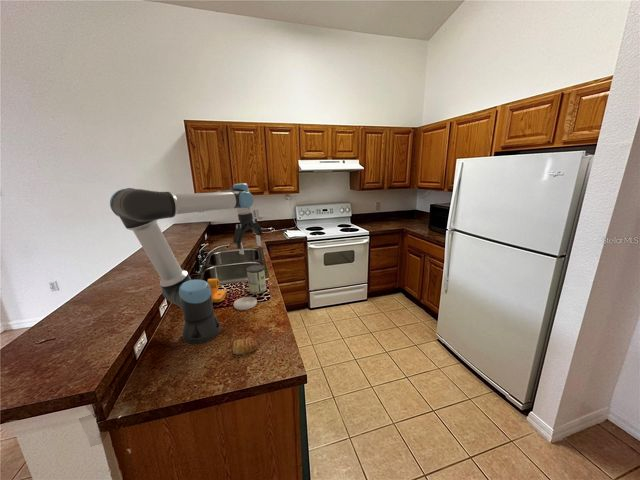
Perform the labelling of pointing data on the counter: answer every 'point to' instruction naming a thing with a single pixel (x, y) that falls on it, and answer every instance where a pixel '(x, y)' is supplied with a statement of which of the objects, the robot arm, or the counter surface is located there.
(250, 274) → the coffee can
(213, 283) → the bracket
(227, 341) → the counter surface
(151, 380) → the counter surface
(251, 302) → the plate
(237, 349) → the pastry
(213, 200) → the robot arm
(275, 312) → the counter surface
